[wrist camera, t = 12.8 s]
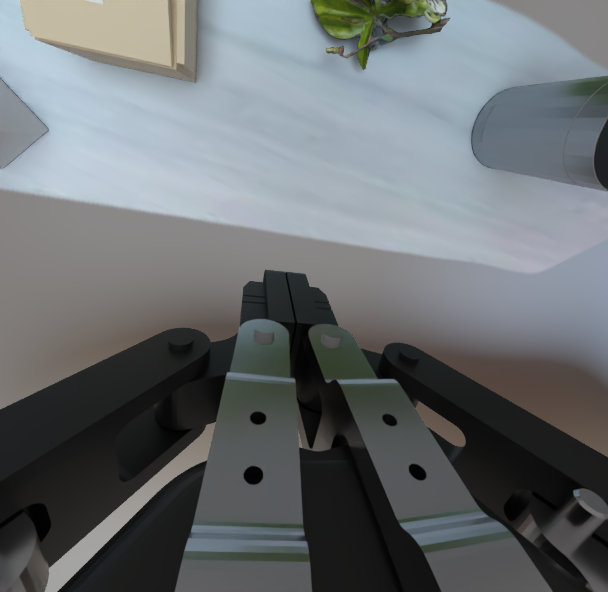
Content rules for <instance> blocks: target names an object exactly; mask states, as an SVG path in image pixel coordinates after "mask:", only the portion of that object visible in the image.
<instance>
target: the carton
mask: <svg viewBox="0 0 608 592" xmlns="http://www.w3.org/2000/svg"><path fill="white" fill-rule="evenodd" d="M20 3H21V0H20ZM170 8H171V26H172V45H173V64H174V65H173V66H172V67H171V66H166V65H162V64H157V63H153V62H148V61H144V60H139V59H134V58H130V57H125V56H121V55H116V54H112V53H107V52H102V51H98V50H93V49H89V48H84V47H80V46H75V45H70V44H66V43H61V42H57V41H52V40H47V39H43V38H38V37H35V39H36V40H38V41H41V42H44V43H46V44H49V45H52V46H55V47H57V48H60V49H63V50H65V51H68V52H71V53H74V54H76V55H79V56H82V57H84V58H87V59H90V60H93V61H97V62H102V63H107V64H111V65H116V66H121V67H125V68H130V69H135V70H140V71H144V72H149V73H154V74H158V75H163V76H168V77H172V78H177V79H182V80H187V81H191V82H196V45H197V0H170ZM21 9H22V15H23V21H24V27H25V29H26V30H28V31H29V27H28V24H27V20H26V17H25V13H24V10H23V6H22V3H21Z"/></svg>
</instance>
